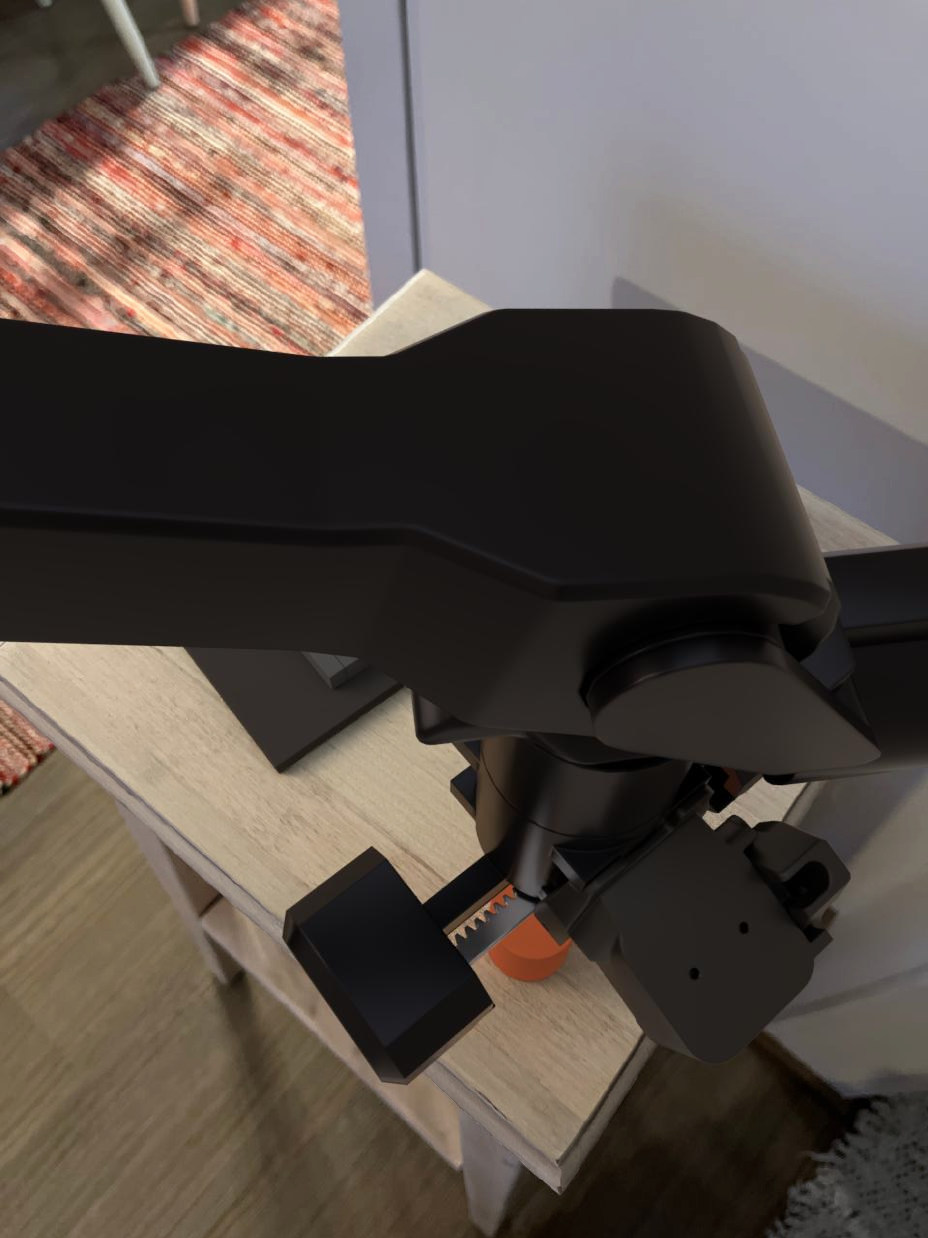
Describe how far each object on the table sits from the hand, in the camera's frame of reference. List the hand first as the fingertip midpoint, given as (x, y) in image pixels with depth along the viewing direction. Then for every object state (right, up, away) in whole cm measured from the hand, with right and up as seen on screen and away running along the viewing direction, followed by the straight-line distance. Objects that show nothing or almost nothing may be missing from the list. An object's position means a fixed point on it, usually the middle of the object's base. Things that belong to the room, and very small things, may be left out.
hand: (538, 891), depth 41 cm
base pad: (-11, +11, +16) cm, 22 cm away
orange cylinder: (0, -4, +7) cm, 9 cm away
